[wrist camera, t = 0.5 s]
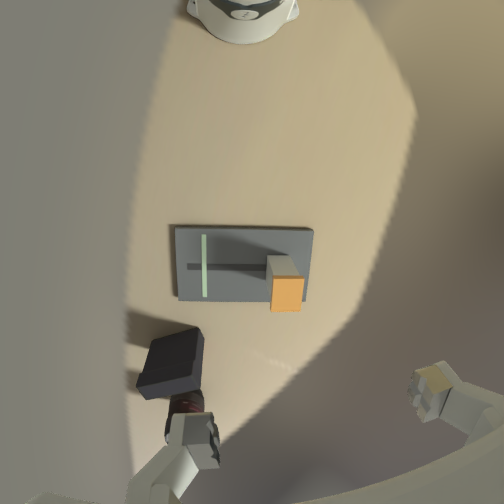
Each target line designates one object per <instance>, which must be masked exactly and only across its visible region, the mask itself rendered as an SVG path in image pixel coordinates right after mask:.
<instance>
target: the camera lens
mask: <svg viewBox="0 0 504 504" xmlns="http://www.w3.org/2000/svg"><path fill="white" fill-rule="evenodd" d="M201 412H204V397H203V395H202V391H201V390H200V389H198V390H194V391H189V392H185V393H180V394H175V395H172V396H171V399H170V404H169V413H168V418H167V421H166V426H165V435H164V436H165V441H166V443H167V444H168V441H169V434H170V427H171V420H172V416H173V414H178V413H201Z"/></svg>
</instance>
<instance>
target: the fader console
mask: <svg viewBox="0 0 504 504" xmlns="http://www.w3.org/2000/svg"><path fill="white" fill-rule="evenodd" d="M313 235H314V231H313V230H312V229H287V228H246V227H175V246H176V268H177V285H178V300H179V301H209V302H271V300H270V296H269V292H268V289H267V285H266V268H267V255H287V256H290V257H291V259H292V261H293V263H294V265H295V267H296V269H297V271H298V273H299V275H300V276H303V277H304V287H303V295H302V302H305V301H306V293H307V286H308V278H309V270H310V261H311V253H312V244H313Z"/></svg>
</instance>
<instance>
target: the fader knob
mask: <svg viewBox="0 0 504 504" xmlns="http://www.w3.org/2000/svg"><path fill="white" fill-rule="evenodd" d="M266 285H267V289H268V292H269V296H270V300H271V302H270V310H271V312H300V310H301V303H302V295H303V287H304V277H303V276H300V275H299V273H298V271H297V269H296V267H295V265H294V263H293V261H292V259H291V257H290V256H287V255H267V268H266Z"/></svg>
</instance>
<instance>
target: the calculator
mask: <svg viewBox="0 0 504 504" xmlns="http://www.w3.org/2000/svg"><path fill="white" fill-rule="evenodd" d="M203 349H204V337H203V335H202V333H201V331H200V329H199V328H194V329H191V330H187V331H184V332H181V333H177V334H174V335H170V336H167V337H163V338H159V339H156V340H153V341H152V342H151V346H150V349H149V352H148V355H147V359H146V362H145V365H144V368H143V372H142V373H140V374H139V378H138V381H137V384H136V388H137V389H138V390H139V392H140V393H141V394H142V396H143V397H144V398H145V399H146V400H150V399H155V398H160V397H165V396H170V395H175V394H180V393H185V392H189V391H194V390H198V389H200V386H201V374H202V361H203Z"/></svg>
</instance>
